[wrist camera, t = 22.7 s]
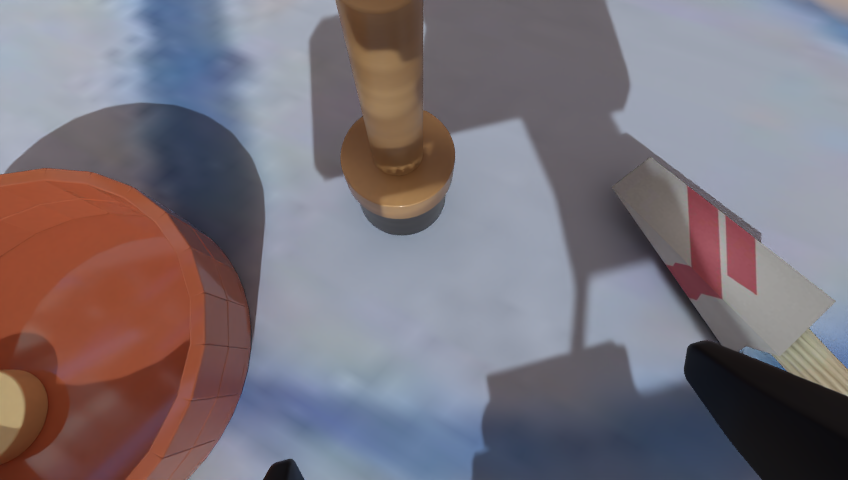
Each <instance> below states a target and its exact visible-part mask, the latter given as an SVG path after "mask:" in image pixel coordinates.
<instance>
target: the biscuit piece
mask: <svg viewBox="0 0 848 480" xmlns="http://www.w3.org/2000/svg"><path fill="white" fill-rule="evenodd" d="M47 411H48V397H47V393H46V390H45V388H44V386H43V384H42V383H41V381H40V380H39V379H38V378H37V377H35V376H34V375H32V374H31V373H29V372H26V371H22V370H0V465H1V464H4V463H6V462H9V461H11V460H12V459H14V458H16V457H17V456H19V455H20V454H21V453H23V452H24V451H25V450H26V449H27V448H28V447H29V446H30V445H31V444H32V443H33V442H34V441H35V439H36V438H37V436H38V435H39V433H40V431H41V430H42V427H43V425H44V423H45V420H46V416H47Z"/></svg>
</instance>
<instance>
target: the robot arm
mask: <svg viewBox="0 0 848 480" xmlns="http://www.w3.org/2000/svg"><path fill="white" fill-rule="evenodd" d="M684 374H685V377H686V379H687V381H688V382H689V384H690V385H691V387H692V388H693V389H694V391H695V392H696V394H697V395H698V397H699V398H700V399H701V401H702V402H703V404H704V405H705V406H706V408H707V409H708V411H709V412H710V414H711V415H712V416H713V418H714V419H715V421H716V422H717V424H718V425H719V426H720V428H721V429H722V431H723V432H724V434H725V435H726V436H727V438H728V439H729V440H730V442H731V443H732V444H733V445H734V447H735V448H736V449H737V450H738V452H739V453H740V454H741V455H742V456H743V458H744V459H745V460H746V461H747V462H748V464H749V465H750V466H751V467H752V468H753V469H754V471H755V472H756V473H757V474H758V475H759V477H760V478H761V479H762V480H848V396H846V395H844V394H841V393H839V392H836V391H834V390H831V389H829V388H826V387H824V386H821V385H819V384H817V383H814V382H812V381H809V380H807V379H804V378H802V377H799V376H797V375H794V374H792V373H789V372H787V371H784V370H782V369H779V368H777V367H774V366H772V365H769V364H767V363H764V362H762V361H759V360H757V359H754V358H752V357H749V356H747V355H744V354H742V353H740V352H737V351H735V350H732V349H730V348H727V347H725V346H722V345H720V344H717V343H715V342H712V341H708V340H704V341H700V342H696V343H693V344H690V345H689V346H688V348H687V353H686V359H685V365H684ZM263 480H304V478H303V476H302V474H301V472H300V470H299V468H298V467H297V465H296V463H295V461H294V460H293V459H287V460H283V461H280V462H276V463H274V464H273V465H272V466H271V467H270V469H269V470H268V472H267V474H266V476H265V477H264V479H263Z"/></svg>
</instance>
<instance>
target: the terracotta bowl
mask: <svg viewBox="0 0 848 480" xmlns="http://www.w3.org/2000/svg"><path fill="white" fill-rule="evenodd" d="M250 350H251V325H250V316H249V308H248V304H247V300H246V296H245V292H244V289H243V286H242V284H241V282H240V279H239V277H238V274H237V272H236V271H235V269H234V267H233V266H232V264H231V262H230V261H229V259H228V257H227V256H226V255H225V254H224V253H223V251H222V250H221V249H220V248H219V247H218V245H217V244H216V243H215V242H214V241H212V239H210V238H209V237H208V236H207V235H206V234H205V233H203V232H202V231H200V230H199V229H197V228H196V227H195V226H193V225H192V224H191V223H189V222H188V221H187V220H185V219H184V218H182V217H181V216H179V215H177V214H176V213H174V212H173V211H171V210H169V209H168V208H166V207H165V206H163V205H161V204H160V203H158V202H157V201H155V200H154V199H152V198H150V197H149V196H147V195H146V194H144V193H142V192H141V191H139V190H138V189H136V188H134V187H132V186H130V185H127V184H124V183H122V182H119V181H116V180H114V179H111V178H108V177H105V176H103V175H100V174H97V173H94V172H87V171H76V170H64V169H52V168H41V169H35V170H28V171H21V172H14V173H7V174H0V370H22V371H26V372H29V373H31V374H32V375H34V376H35V377H37V378H38V379H39V380H40V381H41V383H42V384H43V386H44V388H45V390H46V393H47V397H48V411H47V416H46V420H45V423H44V425H43V427H42V430H41V431H40V433H39V435H38V436H37V438H36V439H35V441H34V442H33V443H32V444H31V445H30V446H29V447H28V448H27V449H26V450H25V451H24V452H23V453H21V454H20V455H19V456H17V457H16V458H14V459H12V460H11V461H9V462H6V463H4V464H1V465H0V480H187V479H188V478H189V477H190V476H191V475H192V474H193V473H194V472H195V470H196V469H197V468H198V467H199V466H200V465H201V464H202V462H203V461H204V460H205V459H206V458H207V456H208V455H209V453H210V452H211V450H212V449H213V448H214V446H215V445H216V443H217V442H218V440H219V439H220V437H221V436H222V434H223V432H224V430H225V428H226V426H227V425H228V423H229V421H230V419H231V417H232V415H233V413H234V410H235V408H236V405H237V403H238V400H239V398H240V395H241V393H242V389H243V385H244V382H245V378H246V374H247V370H248V363H249V356H250Z"/></svg>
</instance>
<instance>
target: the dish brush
mask: <svg viewBox="0 0 848 480" xmlns="http://www.w3.org/2000/svg"><path fill="white" fill-rule="evenodd" d="M336 5H337V9H338V13H339V17H340V22H341V26H342V30H343V34H344V38H345V43H346V47H347V51H348V55H349V60H350V64H351V68H352V72H353V76H354V81H355V85H356V89H357V93H358V98H359V102H360V106H361V110H362V115H363V116H362V117H361V118H360V119H359V120H357V121H356V122H355V123H354V124H353V125H352V127H351V128H350V129H349V131H348V133H347V134H346V136H345V138H344V141H343V144H342V148H341V156H340V158H341V167H342V171H343V173H344V176H345V179H346V181H347V184H348V186H349V188H350V191H351V192H352V194H353V196H354V197H355V199H356V200H357V201H358V202H359V203H360V205H361V208H362V210H363V213H364V214H365V216H366V218H367V219H368V220H369V221H370V222H371V223H372V224H373V225H374V226H375V227H377V228H378V229H380V230H382V231H384V232H386V233H389V234H393V235H410V234H415V233H418V232H420V231H422V230H424V229H426V228H427V227H429V226H430V225H431V224H432V223H434V222H435V220H436V219H437V218H438V217H439V215H440V213H441V211H442V209H443V206H444V203H445V196H446V193H447V191H448V189H449V187H450V184H451V181H452V176H453V169H454V163H455V148H454V144H453V140H452V138H451V136H450V134H449V132H448V130H447V129H446V127H445V126H444V125H443V124H442V123H441V121H439V120H438V119H437V118H436V117H435V116H433V115H432V114H430V113H428V112H427V111H425V110H423V0H336Z"/></svg>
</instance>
